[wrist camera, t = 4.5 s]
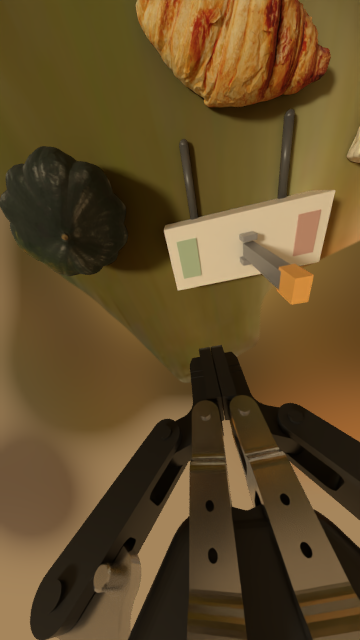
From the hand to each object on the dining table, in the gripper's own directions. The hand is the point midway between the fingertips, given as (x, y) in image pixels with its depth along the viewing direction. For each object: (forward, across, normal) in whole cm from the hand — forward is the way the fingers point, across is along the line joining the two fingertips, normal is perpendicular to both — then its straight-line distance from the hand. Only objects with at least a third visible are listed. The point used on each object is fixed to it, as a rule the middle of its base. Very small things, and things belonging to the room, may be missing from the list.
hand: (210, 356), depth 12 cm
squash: (+27, +15, -9) cm, 32 cm away
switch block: (+26, -9, -5) cm, 28 cm away
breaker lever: (+21, -9, 0) cm, 23 cm away
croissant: (+27, -9, -21) cm, 35 cm away
